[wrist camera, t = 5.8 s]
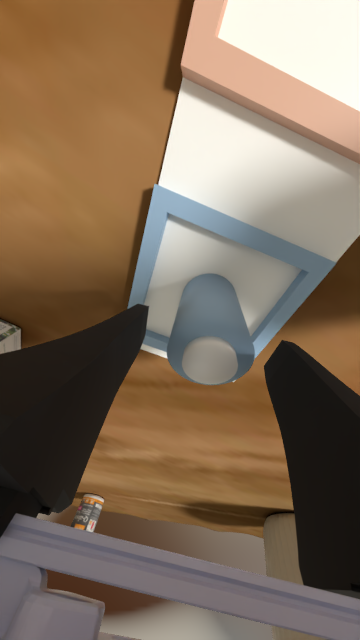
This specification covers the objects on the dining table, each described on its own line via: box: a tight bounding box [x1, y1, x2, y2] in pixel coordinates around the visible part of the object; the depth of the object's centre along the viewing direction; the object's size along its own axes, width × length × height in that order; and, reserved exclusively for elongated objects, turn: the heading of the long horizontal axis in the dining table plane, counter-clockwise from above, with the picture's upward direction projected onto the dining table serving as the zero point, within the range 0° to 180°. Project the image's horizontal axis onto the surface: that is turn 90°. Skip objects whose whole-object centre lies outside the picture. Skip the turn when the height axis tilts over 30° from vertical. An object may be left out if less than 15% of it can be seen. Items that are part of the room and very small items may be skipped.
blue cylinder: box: [167, 273, 255, 385], centre depth 11 cm, size 4×4×7 cm
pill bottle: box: [71, 494, 104, 532], centre depth 45 cm, size 6×6×10 cm
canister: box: [263, 513, 328, 640], centre depth 29 cm, size 18×18×21 cm
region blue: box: [127, 184, 336, 359], centre depth 13 cm, size 11×11×1 cm
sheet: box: [140, 0, 360, 382], centre depth 9 cm, size 12×29×1 cm, turn 160°
